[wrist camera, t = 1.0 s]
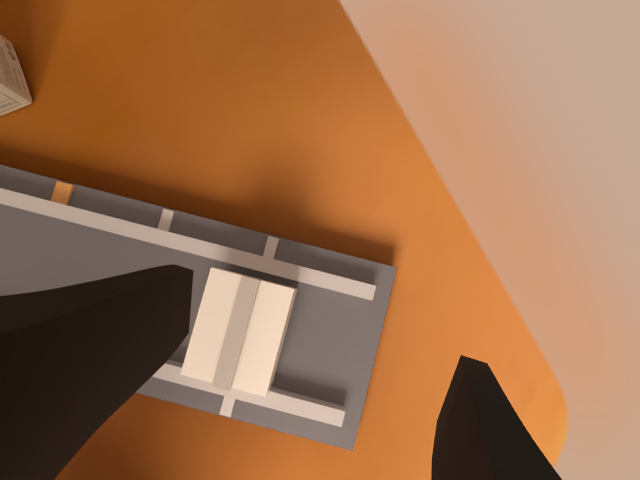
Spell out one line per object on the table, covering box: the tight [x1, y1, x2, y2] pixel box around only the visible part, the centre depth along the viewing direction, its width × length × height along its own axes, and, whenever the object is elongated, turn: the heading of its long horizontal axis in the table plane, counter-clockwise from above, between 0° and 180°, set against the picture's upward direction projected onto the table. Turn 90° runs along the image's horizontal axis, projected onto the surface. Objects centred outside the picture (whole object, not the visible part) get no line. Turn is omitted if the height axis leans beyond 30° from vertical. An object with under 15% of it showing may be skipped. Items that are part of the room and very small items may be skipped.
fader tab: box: [180, 267, 297, 397], centre depth 22 cm, size 5×4×4 cm
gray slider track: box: [0, 165, 397, 451], centre depth 24 cm, size 10×26×2 cm, turn 76°
